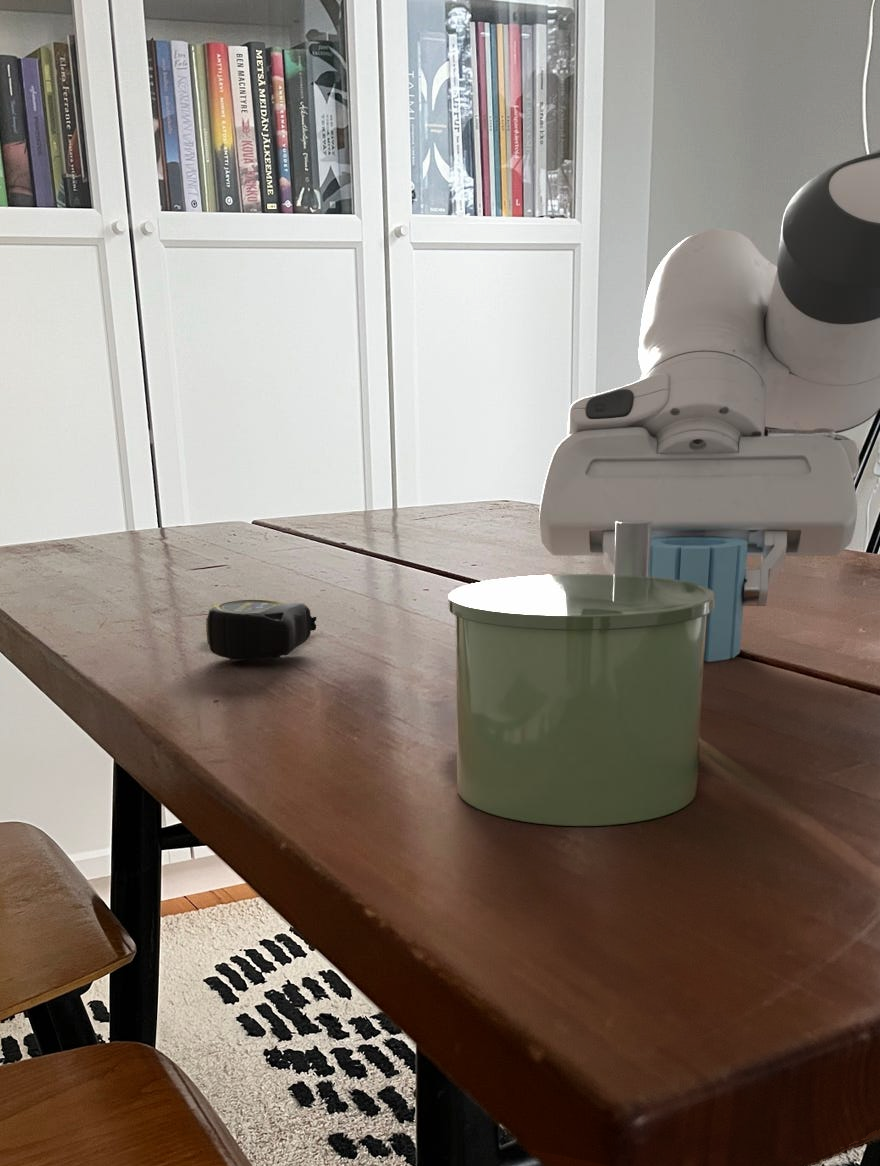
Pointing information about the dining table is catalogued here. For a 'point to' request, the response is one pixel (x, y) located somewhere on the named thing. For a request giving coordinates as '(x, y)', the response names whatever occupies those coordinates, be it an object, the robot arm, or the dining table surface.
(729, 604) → the blue grooved hollow cylinder
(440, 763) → the dining table surface
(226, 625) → the tape measure
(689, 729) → the pot
